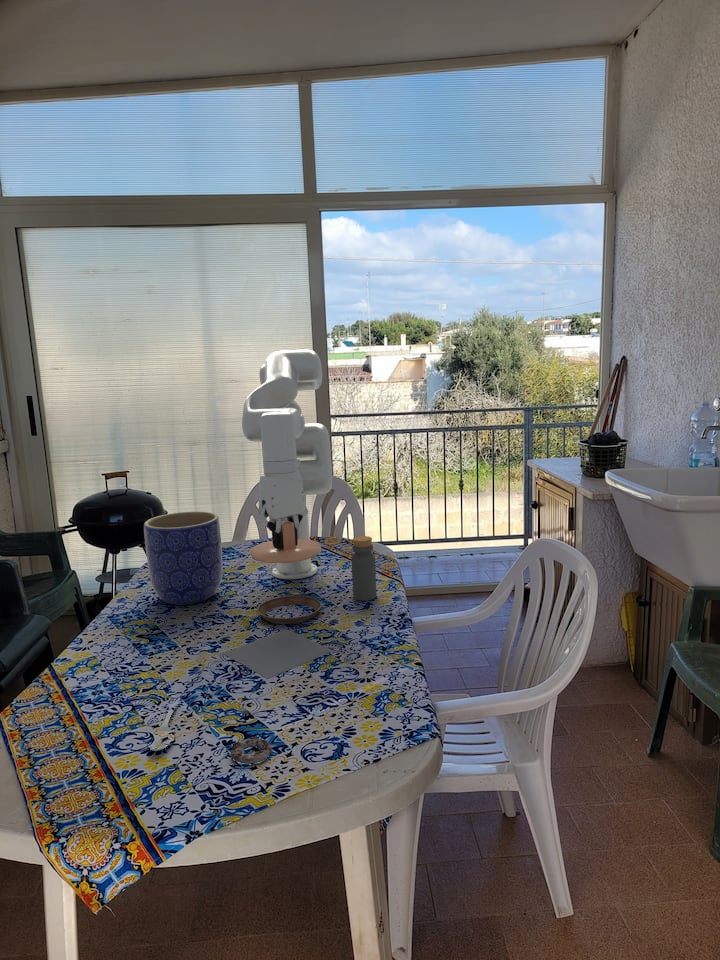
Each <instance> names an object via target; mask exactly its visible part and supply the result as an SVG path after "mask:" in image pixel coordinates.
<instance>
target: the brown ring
mask: <svg viewBox="0 0 720 960" xmlns="http://www.w3.org/2000/svg"><path fill="white" fill-rule="evenodd" d="M290 605H302V606H307V607H310V608H312V609H314V612H311V613H308V614H305V615H302V616H296V617H284V618H283V617H273V616H267V615H266V614H267V613H268V612H269V611H271V610H273V609H274V608H278V607H282V606H290ZM322 607H323V606H322V602H321V601H320V600H319V599H316V598H314V597H312V596H307V595H287V596H286V595H285V596H279V597H274V598H271V599H268V600H266V601H264V602H262V603H260V604H259V605H258V607H257V613H258V614H259V615H260V617H262V618H263V619H264V620H265V621H267V622H269V623H273V624H279V625H291V624H299V623H302V622H306V621H309V620H311V619H312V618H314V617H315V616H316V615H317V614H318V613H319V611H320V610H321V608H322Z"/></svg>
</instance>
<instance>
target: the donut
mask: <svg viewBox="0 0 720 960" xmlns="http://www.w3.org/2000/svg"><path fill="white" fill-rule="evenodd" d="M254 746H257V747H259V748H260V749H261V750H258V751H257V752H255V753H254V754H248V753H247V752H245V751H244V749H246V748H248V747H254ZM231 748H232V749H231V751H230V758H231V757H232V758H233V759H234V760H235V761H238V762H241V763H248V764H250V763H257V762H260V761H263V760H265V759H267V757H268V756H269V754H270V753H271V754H272V752H273V746H272V744H271V743H270V742H269V741H268V740H266V739H262V738H260V739H259V737H258V735H256V736H252V737H250V738H247V739H244V740H241V741H239V742H236V744H235V745H234V746H232V747H231ZM271 751H272V752H271ZM244 753H245V754H244ZM232 758H231V759H232Z"/></svg>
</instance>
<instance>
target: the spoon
mask: <svg viewBox="0 0 720 960" xmlns="http://www.w3.org/2000/svg"><path fill="white" fill-rule="evenodd" d="M172 713H173V712H172V711H171V712H168V713H167V712H166V716H165V719H164V721H163V723H162V724H161V725H160V726H159V727H158V729H157V730H156V731H173V730H172V729H170V727H169V721H170V719H171V718H170V717H172V716H171V715H173V714H174V713H173V714H172ZM166 747H167V746H165V747H162V748H158V749H154V748H150V751H153V752H156V751H161V750H164V748H165V749H166ZM167 748H168V747H167Z"/></svg>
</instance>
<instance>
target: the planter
mask: <svg viewBox="0 0 720 960" xmlns="http://www.w3.org/2000/svg"><path fill="white" fill-rule="evenodd" d="M143 534H144V535H143V536H144V544H145V552H146V560H147V568H148V573H149V579H150V584H151V586H152V589H153V591H154V592H155V594H156V595H157V597H159V599H160V600H162V601H163V602H165V603H166V604H170V605H173V604H175V606H187V605H188V604H189V605H194V603H195V604H199V603H202V602H205V601H207V600H208V599H210V598H212V597H213V596H214V595H215V594H216V592H217V591H218V590H219V587H220V585H221V582H222V579H223V551H222V550H223V548H222V536H221V535H222V534H221V524H220V518H219V515H218V514H216V513H214V512H212V511H211V512H210V511H201V510H198V511H197V510H196V511H195V510H194V511H193V510H192V511H179V512H172V513H168V514H167V513H166V514H162V515H158V516H155V517H151V518H150V519H147V520H146V521H145V522H144V524H143Z"/></svg>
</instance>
